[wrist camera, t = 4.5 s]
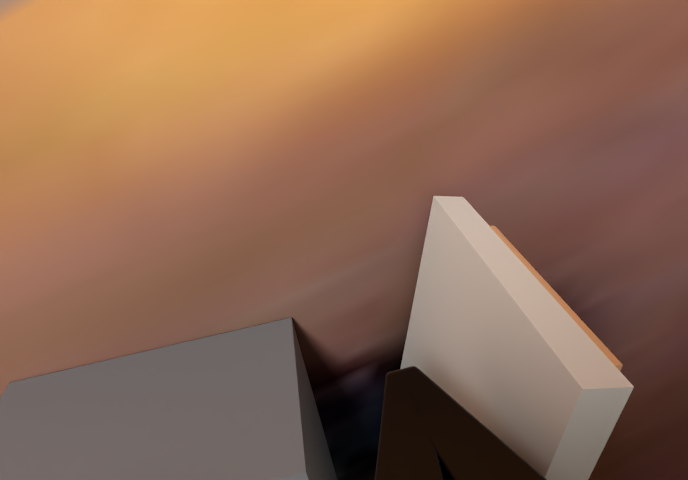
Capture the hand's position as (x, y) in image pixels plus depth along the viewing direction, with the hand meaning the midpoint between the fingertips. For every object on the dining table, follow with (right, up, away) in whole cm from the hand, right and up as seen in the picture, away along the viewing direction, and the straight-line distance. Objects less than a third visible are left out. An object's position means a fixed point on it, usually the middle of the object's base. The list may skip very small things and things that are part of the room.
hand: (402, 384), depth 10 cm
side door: (+1, -3, +7) cm, 8 cm away
